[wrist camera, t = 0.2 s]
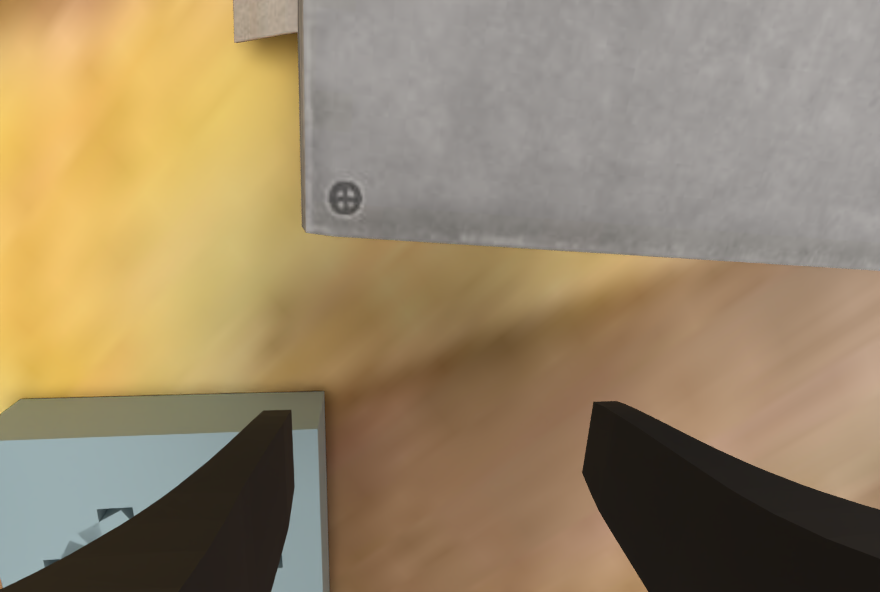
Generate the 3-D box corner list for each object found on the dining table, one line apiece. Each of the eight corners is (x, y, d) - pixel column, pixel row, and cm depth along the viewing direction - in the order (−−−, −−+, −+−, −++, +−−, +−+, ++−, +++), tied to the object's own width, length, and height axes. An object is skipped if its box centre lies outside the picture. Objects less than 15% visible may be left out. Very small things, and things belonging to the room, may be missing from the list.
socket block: (331, 644, 26) (326, 705, 23) (83, 669, 24) (45, 739, 21) (324, 391, 21) (317, 429, 19) (20, 399, 20) (-38, 442, 17)
